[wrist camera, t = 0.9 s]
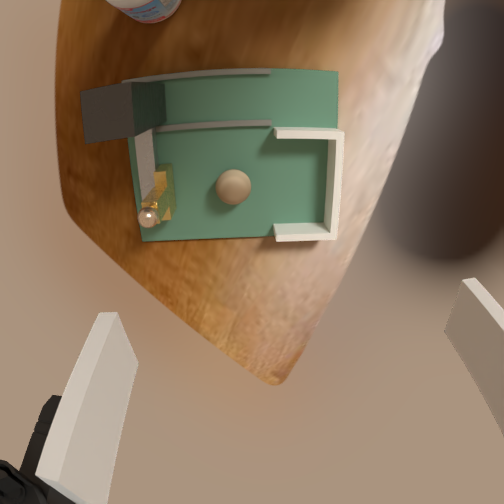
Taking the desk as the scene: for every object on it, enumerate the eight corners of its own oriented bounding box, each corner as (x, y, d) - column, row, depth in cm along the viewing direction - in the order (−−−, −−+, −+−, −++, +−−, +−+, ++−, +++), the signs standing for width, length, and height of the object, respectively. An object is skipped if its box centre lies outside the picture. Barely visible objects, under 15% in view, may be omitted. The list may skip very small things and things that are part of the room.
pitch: (125, 80, 28) (121, 80, 27) (336, 72, 29) (339, 71, 28) (143, 239, 37) (141, 243, 36) (329, 232, 38) (331, 235, 37)
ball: (215, 166, 33) (213, 174, 30) (250, 164, 33) (251, 173, 30) (217, 198, 35) (215, 210, 31) (250, 197, 35) (252, 209, 32)
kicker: (127, 88, 28) (80, 91, 18) (168, 83, 28) (136, 80, 19) (140, 210, 34) (106, 258, 25) (178, 207, 35) (156, 257, 25)
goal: (272, 126, 32) (276, 130, 29) (334, 127, 32) (344, 131, 29) (272, 228, 37) (276, 241, 34) (328, 226, 37) (336, 239, 34)
